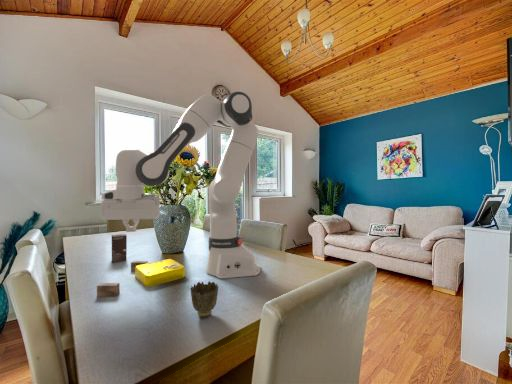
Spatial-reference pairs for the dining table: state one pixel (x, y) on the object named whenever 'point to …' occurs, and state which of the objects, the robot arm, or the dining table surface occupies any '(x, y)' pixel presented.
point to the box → (119, 247)
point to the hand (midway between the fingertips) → (131, 231)
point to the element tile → (159, 272)
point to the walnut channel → (113, 288)
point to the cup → (204, 298)
